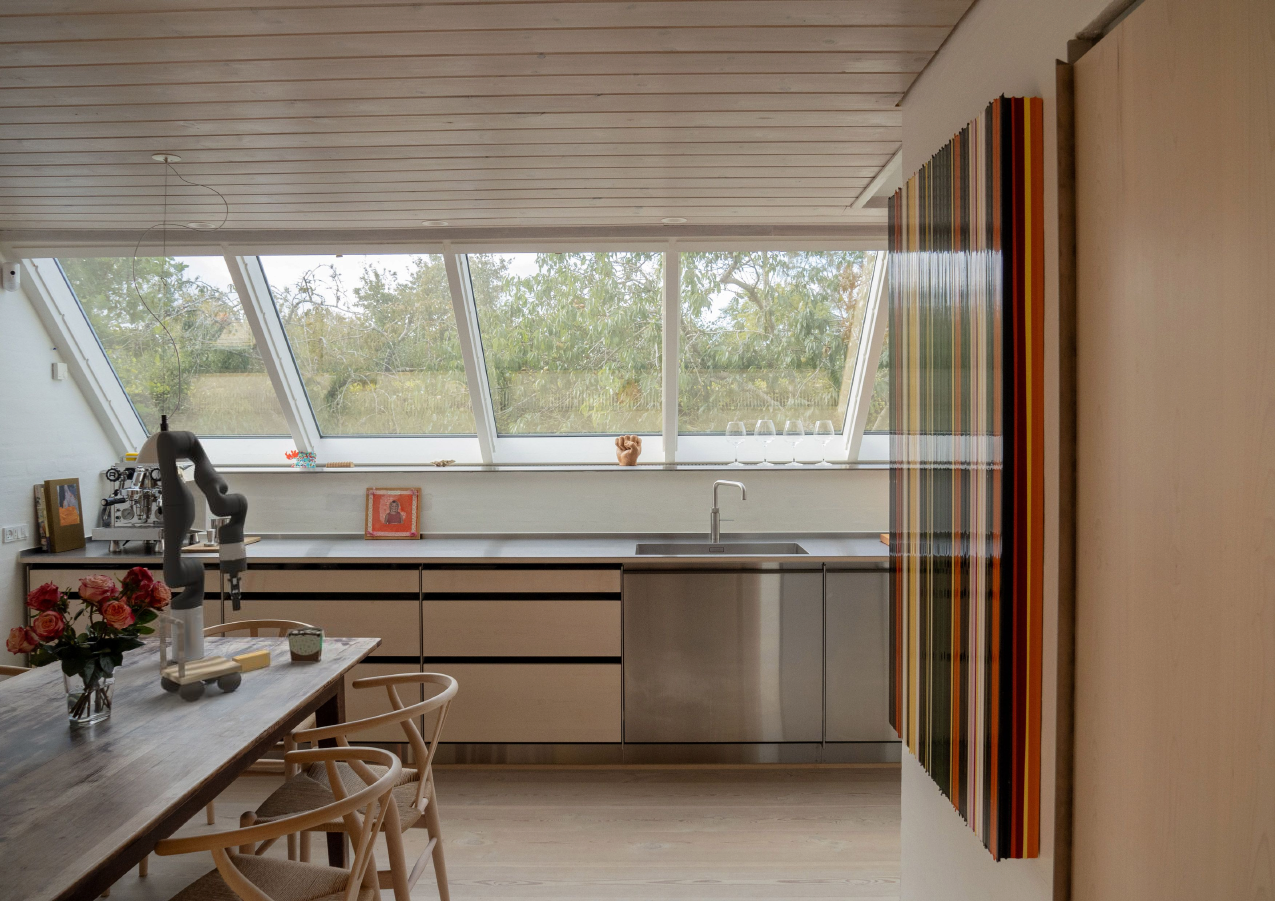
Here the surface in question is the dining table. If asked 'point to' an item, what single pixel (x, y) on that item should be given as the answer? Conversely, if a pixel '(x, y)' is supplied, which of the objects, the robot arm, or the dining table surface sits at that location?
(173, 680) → the trolley
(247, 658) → the block
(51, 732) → the dining table surface
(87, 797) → the dining table surface
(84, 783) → the dining table surface
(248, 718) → the dining table surface
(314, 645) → the food container
